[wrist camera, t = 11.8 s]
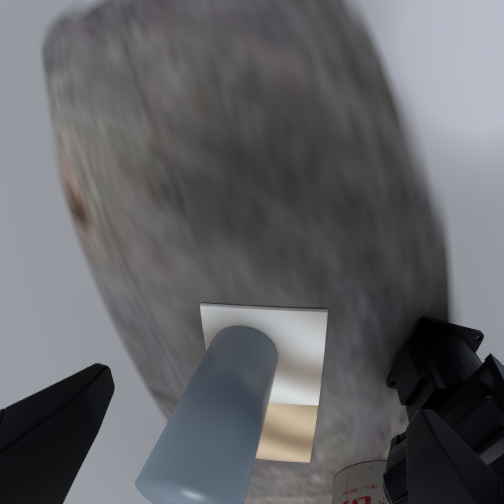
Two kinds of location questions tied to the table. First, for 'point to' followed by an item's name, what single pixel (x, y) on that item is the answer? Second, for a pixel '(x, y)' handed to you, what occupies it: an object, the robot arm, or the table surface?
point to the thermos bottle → (360, 484)
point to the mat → (282, 371)
